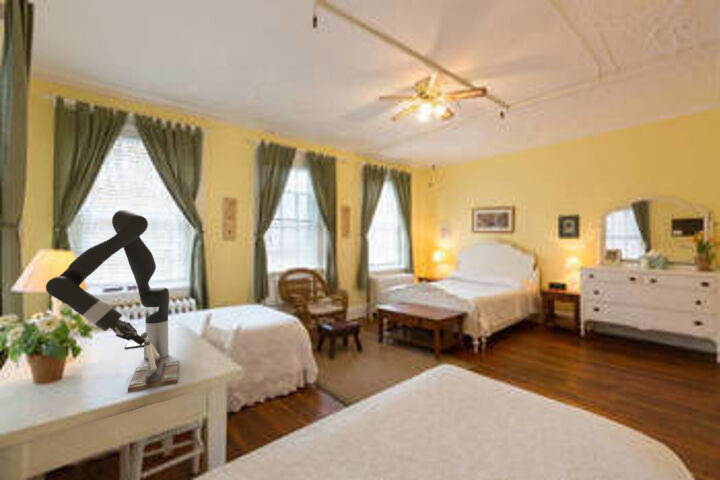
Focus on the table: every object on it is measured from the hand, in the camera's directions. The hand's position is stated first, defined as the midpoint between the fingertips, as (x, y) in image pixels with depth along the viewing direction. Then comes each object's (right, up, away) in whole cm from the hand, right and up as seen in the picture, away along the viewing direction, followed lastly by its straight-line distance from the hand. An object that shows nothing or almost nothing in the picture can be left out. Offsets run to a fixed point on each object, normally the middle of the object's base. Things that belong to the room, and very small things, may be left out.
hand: (143, 342), depth 124 cm
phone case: (-32, -17, +47) cm, 59 cm away
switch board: (0, -17, +8) cm, 18 cm away
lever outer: (+3, -11, +2) cm, 12 cm away
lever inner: (-3, -11, +14) cm, 18 cm away
